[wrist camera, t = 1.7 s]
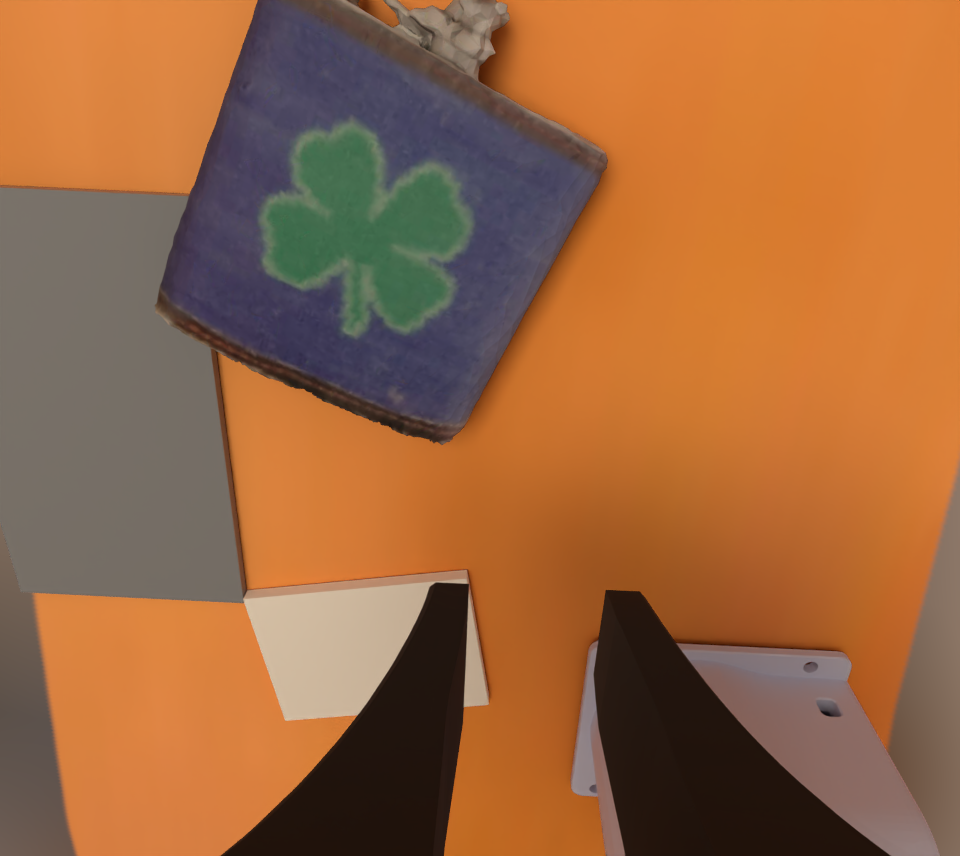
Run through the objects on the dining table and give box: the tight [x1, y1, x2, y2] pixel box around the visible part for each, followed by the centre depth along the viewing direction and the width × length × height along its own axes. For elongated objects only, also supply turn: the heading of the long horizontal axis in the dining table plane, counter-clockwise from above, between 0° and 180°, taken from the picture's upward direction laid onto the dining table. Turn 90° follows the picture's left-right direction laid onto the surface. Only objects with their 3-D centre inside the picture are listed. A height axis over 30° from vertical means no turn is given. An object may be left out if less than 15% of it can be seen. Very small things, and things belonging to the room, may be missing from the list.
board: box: [0, 185, 247, 603], centre depth 23 cm, size 8×14×1 cm, turn 178°
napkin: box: [243, 570, 489, 721], centre depth 27 cm, size 8×6×1 cm
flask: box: [155, 0, 608, 445], centre depth 19 cm, size 9×3×11 cm
